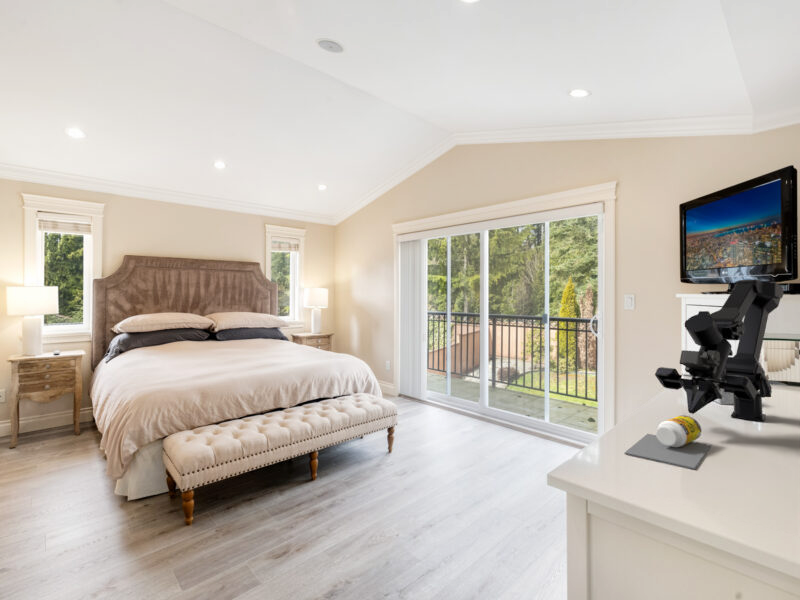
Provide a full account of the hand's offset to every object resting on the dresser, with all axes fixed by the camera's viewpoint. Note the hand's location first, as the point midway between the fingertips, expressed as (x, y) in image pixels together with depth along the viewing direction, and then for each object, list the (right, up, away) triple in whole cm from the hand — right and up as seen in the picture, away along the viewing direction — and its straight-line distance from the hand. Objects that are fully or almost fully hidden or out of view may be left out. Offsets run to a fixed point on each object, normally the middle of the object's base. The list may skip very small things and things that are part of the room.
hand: (690, 412), depth 92 cm
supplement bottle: (-2, -3, -1) cm, 4 cm away
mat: (-10, -6, -7) cm, 13 cm away
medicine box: (+32, -6, +31) cm, 45 cm away
